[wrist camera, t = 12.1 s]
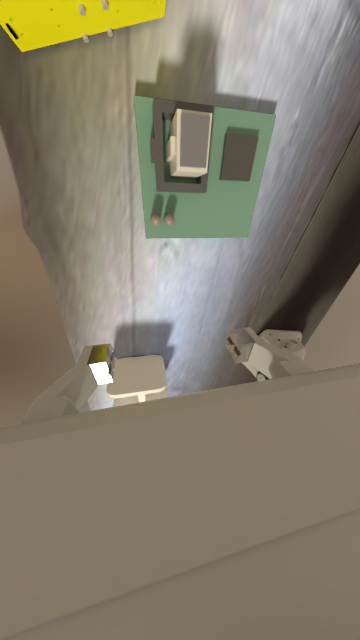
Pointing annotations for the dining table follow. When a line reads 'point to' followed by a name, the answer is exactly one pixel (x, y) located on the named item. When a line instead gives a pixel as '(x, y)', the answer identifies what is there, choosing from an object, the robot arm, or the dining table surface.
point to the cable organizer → (138, 380)
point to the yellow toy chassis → (71, 19)
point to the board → (208, 189)
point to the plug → (189, 143)
